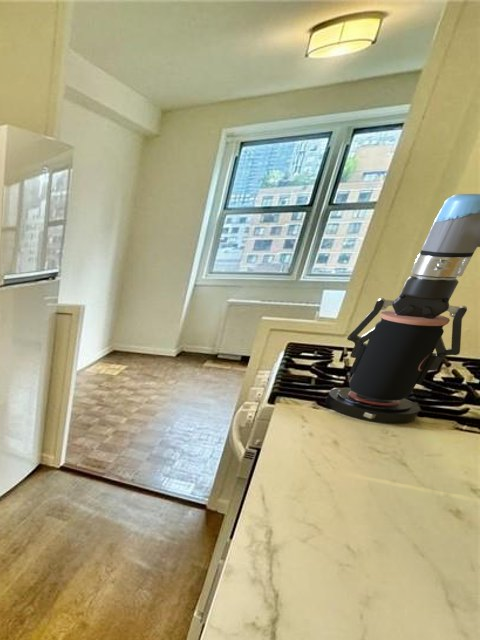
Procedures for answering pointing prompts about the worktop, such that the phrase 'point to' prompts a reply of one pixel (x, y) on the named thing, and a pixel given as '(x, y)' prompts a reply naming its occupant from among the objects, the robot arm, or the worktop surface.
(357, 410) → the hot plate
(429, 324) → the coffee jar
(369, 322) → the robot arm
